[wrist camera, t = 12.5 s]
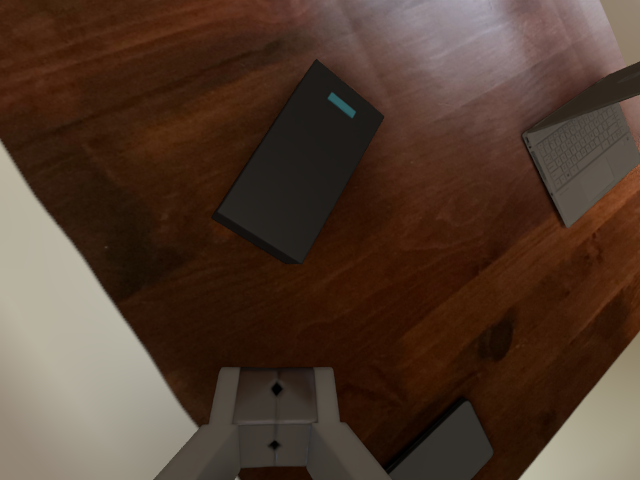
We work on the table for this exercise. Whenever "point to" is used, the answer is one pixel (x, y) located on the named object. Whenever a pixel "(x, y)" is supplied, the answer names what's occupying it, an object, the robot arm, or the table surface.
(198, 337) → the table surface
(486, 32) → the table surface
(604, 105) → the laptop
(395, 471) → the smartphone
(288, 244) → the black power bank
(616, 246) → the table surface
